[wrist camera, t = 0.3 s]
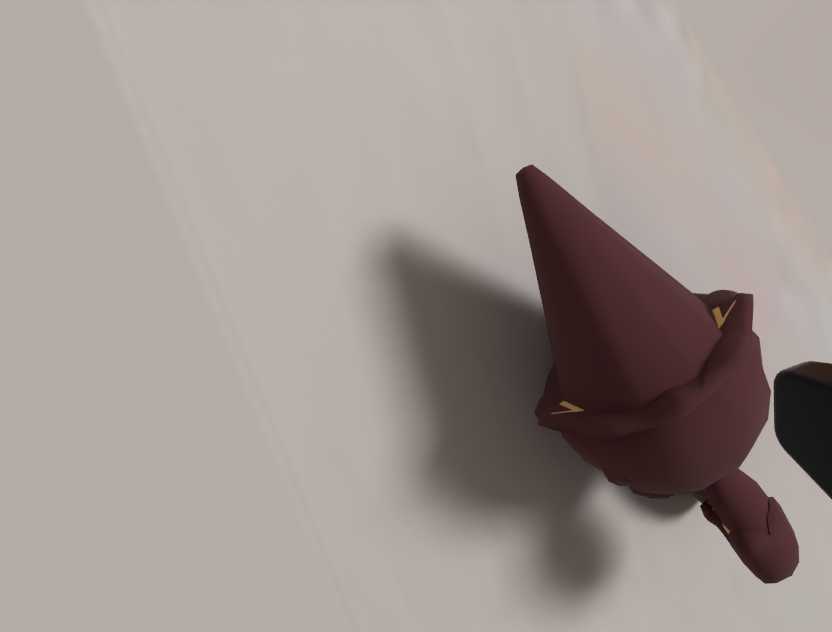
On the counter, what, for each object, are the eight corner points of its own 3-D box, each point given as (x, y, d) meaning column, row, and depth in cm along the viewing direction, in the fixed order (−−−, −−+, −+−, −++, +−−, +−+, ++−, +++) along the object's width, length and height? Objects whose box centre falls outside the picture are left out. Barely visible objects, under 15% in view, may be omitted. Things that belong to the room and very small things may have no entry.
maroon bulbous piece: (421, 269, 17) (694, 668, 21) (690, 91, 16) (921, 546, 20) (409, 220, 23) (619, 531, 28) (599, 92, 23) (786, 434, 27)
